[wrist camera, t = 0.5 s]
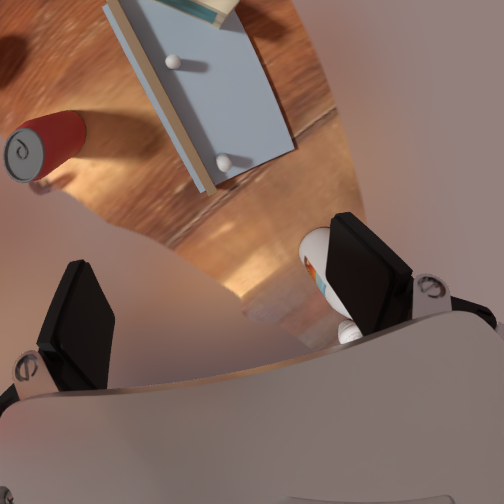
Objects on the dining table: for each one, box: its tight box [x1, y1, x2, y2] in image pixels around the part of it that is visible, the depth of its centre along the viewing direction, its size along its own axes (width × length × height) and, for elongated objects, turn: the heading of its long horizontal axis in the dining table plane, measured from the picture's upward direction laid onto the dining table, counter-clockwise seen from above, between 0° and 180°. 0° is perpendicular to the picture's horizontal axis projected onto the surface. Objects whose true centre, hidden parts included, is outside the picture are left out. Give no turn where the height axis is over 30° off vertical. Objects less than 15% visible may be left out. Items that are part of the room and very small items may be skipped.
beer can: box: [3, 110, 86, 183], centre depth 22 cm, size 7×7×12 cm
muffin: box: [338, 320, 362, 344], centre depth 59 cm, size 6×6×7 cm
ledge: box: [102, 0, 295, 196], centre depth 26 cm, size 30×14×4 cm, turn 23°
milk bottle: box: [299, 228, 364, 337], centre depth 39 cm, size 8×8×20 cm
